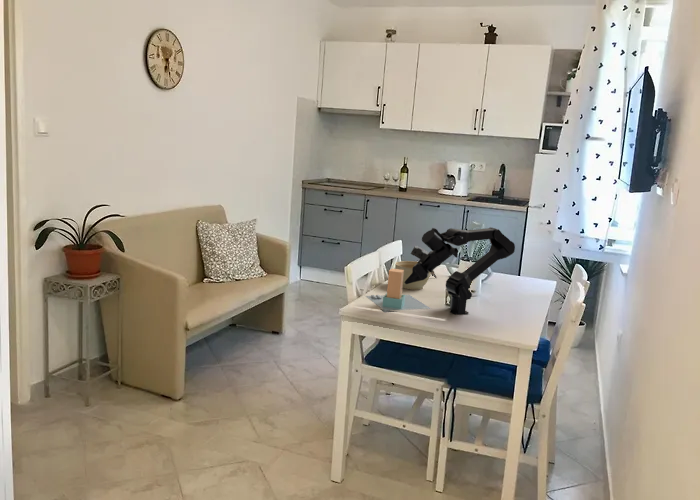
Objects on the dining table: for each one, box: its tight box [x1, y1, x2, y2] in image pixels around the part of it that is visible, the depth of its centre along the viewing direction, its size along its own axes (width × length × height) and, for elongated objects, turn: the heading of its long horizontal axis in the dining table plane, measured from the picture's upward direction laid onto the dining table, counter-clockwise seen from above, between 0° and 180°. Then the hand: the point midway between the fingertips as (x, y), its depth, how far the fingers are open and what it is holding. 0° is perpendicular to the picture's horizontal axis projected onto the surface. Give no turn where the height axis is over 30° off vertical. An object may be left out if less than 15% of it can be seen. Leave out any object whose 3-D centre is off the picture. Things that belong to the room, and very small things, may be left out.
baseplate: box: [365, 292, 432, 313], centre depth 246 cm, size 20×20×4 cm
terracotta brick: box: [386, 267, 404, 299], centre depth 239 cm, size 5×5×11 cm
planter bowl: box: [394, 260, 431, 291], centre depth 272 cm, size 16×16×11 cm
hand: (407, 280), depth 238 cm, fingers open, 9 cm apart
